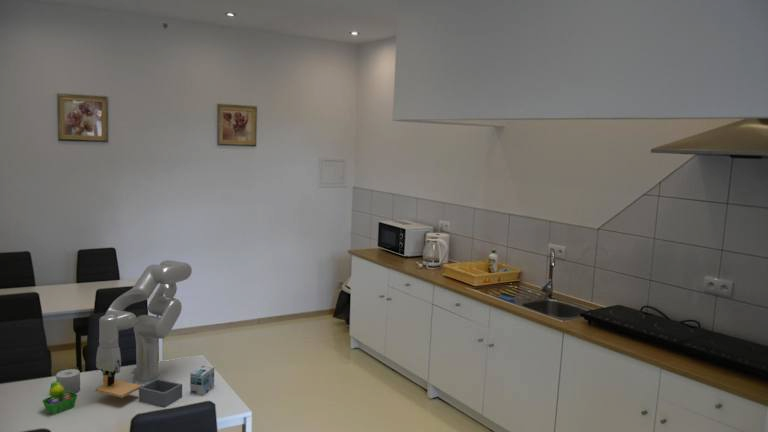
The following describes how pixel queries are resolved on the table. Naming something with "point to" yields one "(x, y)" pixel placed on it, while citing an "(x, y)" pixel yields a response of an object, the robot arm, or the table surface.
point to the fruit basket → (59, 399)
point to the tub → (157, 397)
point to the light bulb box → (202, 380)
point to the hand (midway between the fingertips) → (109, 383)
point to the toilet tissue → (69, 380)
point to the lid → (117, 387)
